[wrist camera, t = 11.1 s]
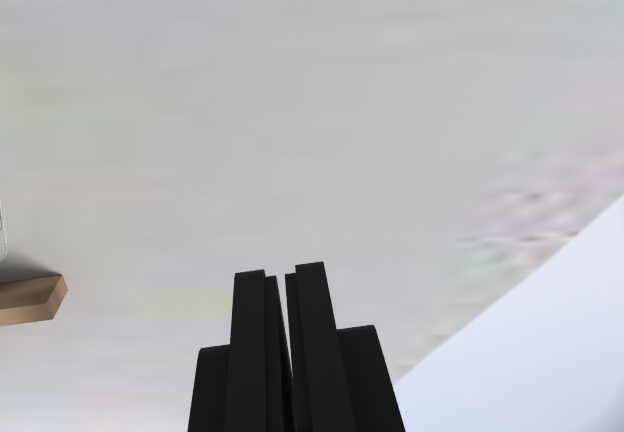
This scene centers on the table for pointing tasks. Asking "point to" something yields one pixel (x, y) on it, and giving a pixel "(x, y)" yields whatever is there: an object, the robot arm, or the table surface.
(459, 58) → the table surface
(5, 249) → the emergency button
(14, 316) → the dock
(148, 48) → the table surface
